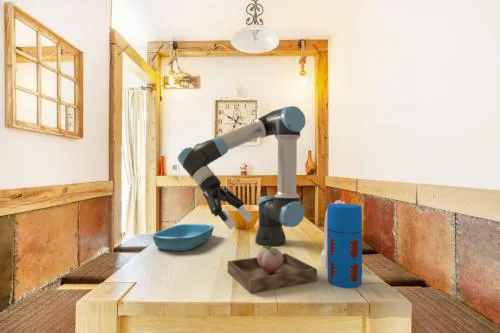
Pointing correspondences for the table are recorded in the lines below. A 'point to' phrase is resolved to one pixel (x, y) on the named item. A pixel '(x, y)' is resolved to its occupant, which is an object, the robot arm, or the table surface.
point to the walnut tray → (260, 280)
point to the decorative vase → (324, 252)
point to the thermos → (344, 245)
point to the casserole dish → (182, 236)
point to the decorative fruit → (270, 259)
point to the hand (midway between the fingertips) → (242, 223)
